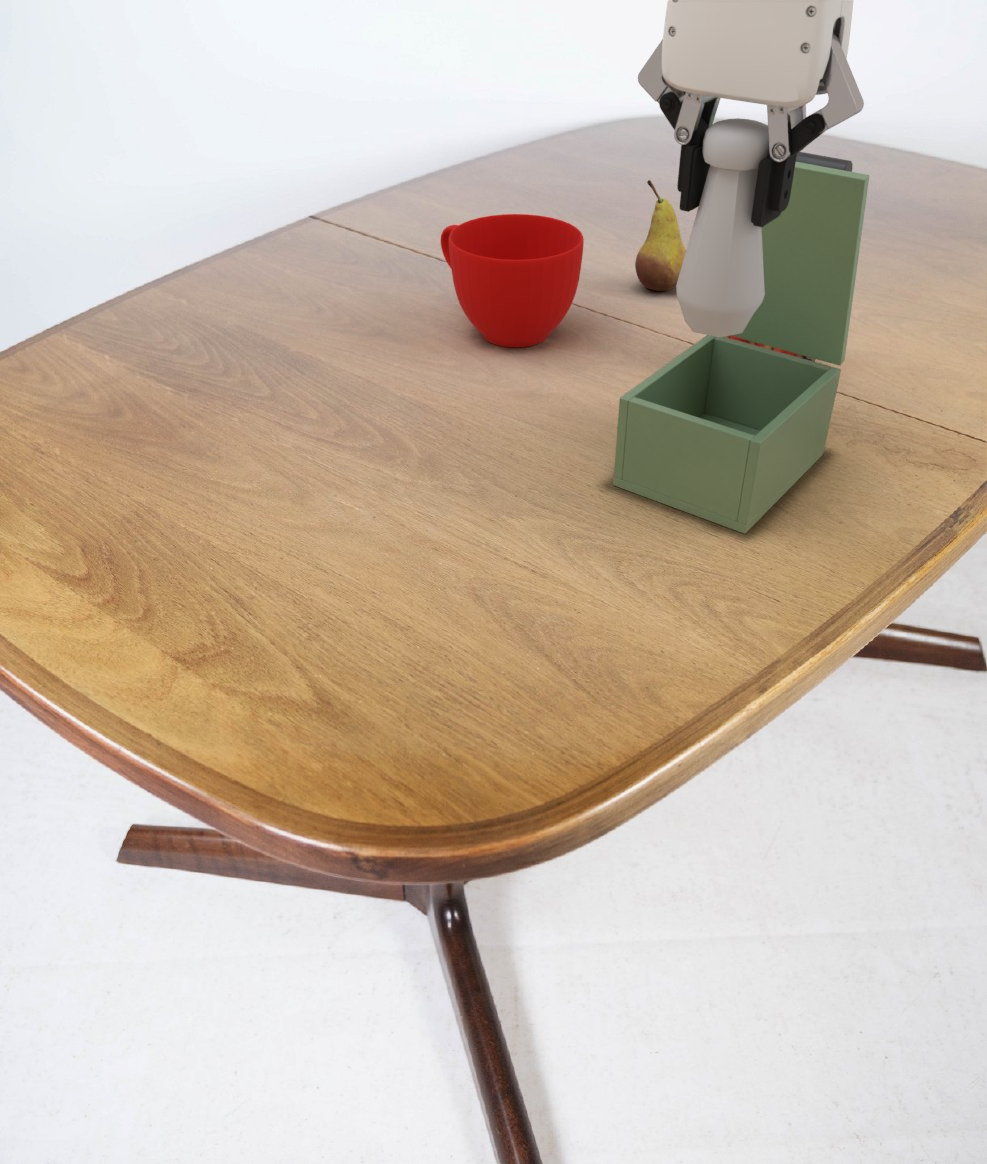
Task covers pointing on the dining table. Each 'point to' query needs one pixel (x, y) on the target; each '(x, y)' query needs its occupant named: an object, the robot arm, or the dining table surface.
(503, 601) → the dining table surface
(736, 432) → the holder
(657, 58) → the robot arm
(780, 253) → the lid
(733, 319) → the salt shaker
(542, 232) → the ceramic cup
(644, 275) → the fruit
